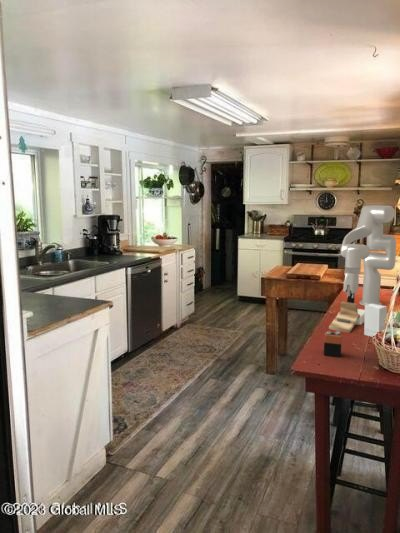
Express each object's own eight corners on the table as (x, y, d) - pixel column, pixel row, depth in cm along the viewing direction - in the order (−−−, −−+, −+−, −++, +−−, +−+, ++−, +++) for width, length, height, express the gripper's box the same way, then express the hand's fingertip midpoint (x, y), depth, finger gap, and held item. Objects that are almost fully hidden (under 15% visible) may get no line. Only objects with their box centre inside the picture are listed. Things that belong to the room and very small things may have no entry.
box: (348, 313, 242) (348, 305, 241) (370, 316, 235) (370, 309, 234) (337, 321, 227) (337, 313, 226) (360, 325, 220) (361, 316, 220)
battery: (340, 357, 178) (341, 334, 176) (323, 355, 180) (324, 332, 178) (340, 353, 182) (342, 331, 180) (324, 351, 184) (325, 329, 182)
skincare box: (386, 337, 202) (388, 306, 200) (378, 339, 199) (380, 308, 196) (370, 332, 209) (372, 302, 207) (362, 334, 206) (364, 304, 203)
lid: (340, 313, 227) (339, 301, 224) (359, 317, 221) (359, 303, 219) (329, 329, 215) (328, 315, 212) (349, 332, 209) (349, 319, 206)
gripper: (349, 267, 228) (347, 301, 231) (340, 271, 216) (338, 307, 219) (364, 269, 224) (362, 303, 227) (355, 273, 212) (353, 309, 215)
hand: (350, 305), depth 223 cm, fingers closed
